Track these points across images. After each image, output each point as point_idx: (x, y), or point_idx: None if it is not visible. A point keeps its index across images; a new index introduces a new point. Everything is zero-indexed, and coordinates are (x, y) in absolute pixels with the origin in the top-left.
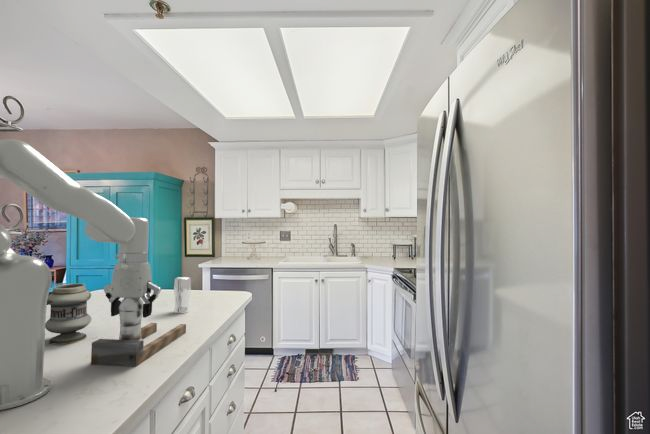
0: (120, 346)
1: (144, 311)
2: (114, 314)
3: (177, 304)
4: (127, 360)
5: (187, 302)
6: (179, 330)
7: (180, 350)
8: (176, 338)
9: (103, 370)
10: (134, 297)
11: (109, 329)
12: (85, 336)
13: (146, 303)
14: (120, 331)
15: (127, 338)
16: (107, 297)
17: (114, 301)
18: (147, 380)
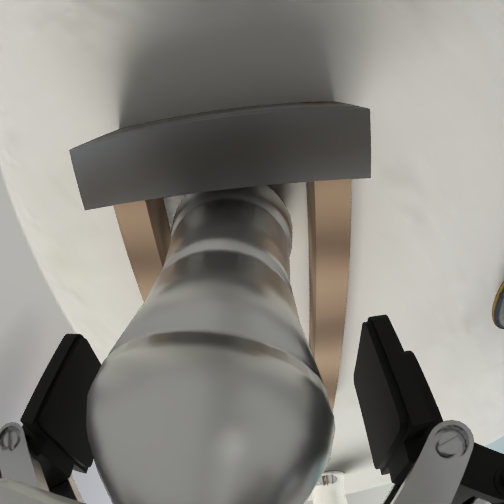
0: (168, 125)
1: (48, 367)
2: (364, 335)
3: (334, 490)
4: (148, 124)
5: (313, 499)
6: None
7: (91, 296)
8: None
9: (224, 59)
10: (40, 495)
11: (455, 373)
12: (494, 315)
13: (17, 427)
14: (260, 239)
15: (197, 214)
16: (499, 455)
17: (411, 448)
18: (14, 67)
